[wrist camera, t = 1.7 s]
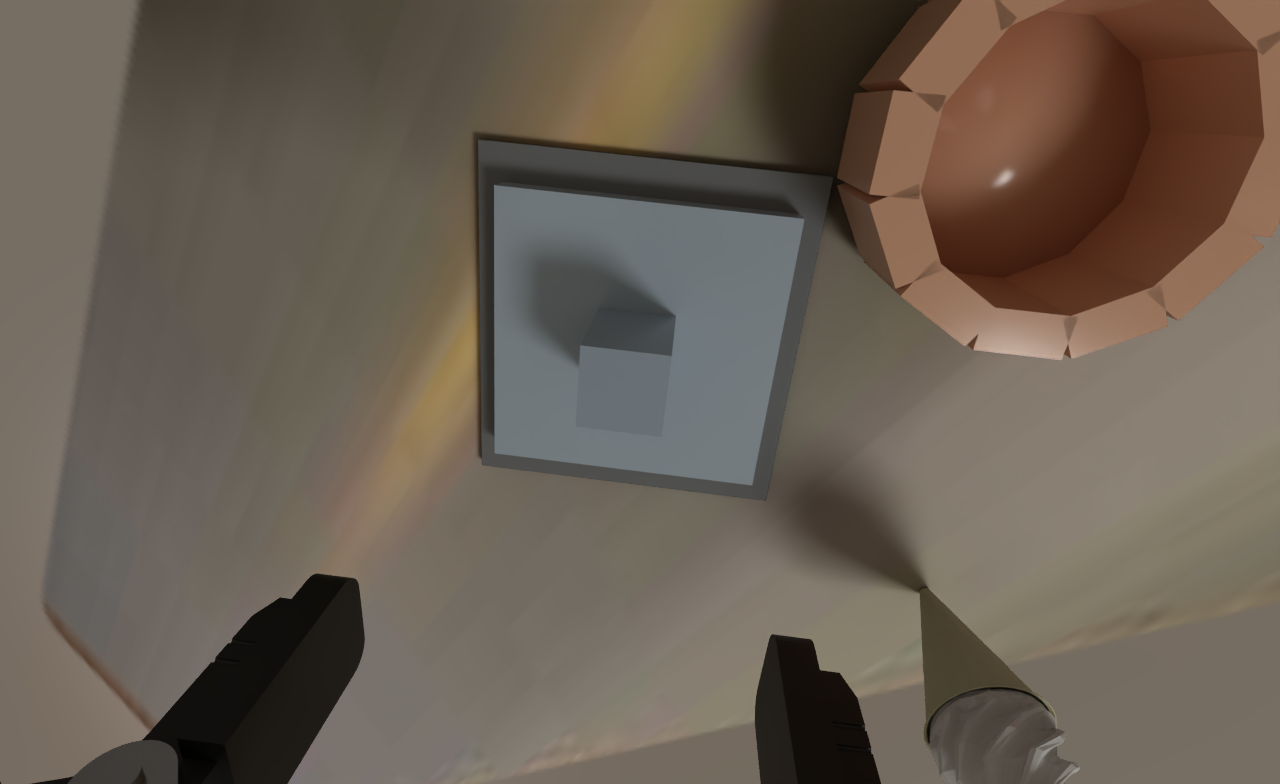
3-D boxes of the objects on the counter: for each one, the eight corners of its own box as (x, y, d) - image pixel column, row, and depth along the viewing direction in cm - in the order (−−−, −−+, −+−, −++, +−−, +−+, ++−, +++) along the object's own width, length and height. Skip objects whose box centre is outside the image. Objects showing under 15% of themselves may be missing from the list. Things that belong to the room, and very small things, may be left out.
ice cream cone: (957, 537, 31) (1158, 870, 18) (989, 610, 33) (1194, 966, 19) (859, 571, 33) (974, 906, 19) (893, 640, 34) (1023, 993, 21)
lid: (502, 181, 26) (452, 201, 20) (800, 214, 25) (826, 242, 20) (501, 440, 31) (461, 510, 25) (750, 471, 30) (761, 548, 25)
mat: (481, 139, 26) (478, 139, 25) (831, 176, 25) (833, 177, 25) (484, 460, 32) (481, 465, 31) (765, 496, 31) (765, 500, 31)
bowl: (879, -52, 22) (938, -104, 16) (1237, -19, 21) (1421, -62, 16) (808, 287, 27) (836, 334, 21) (1098, 320, 26) (1201, 376, 21)
